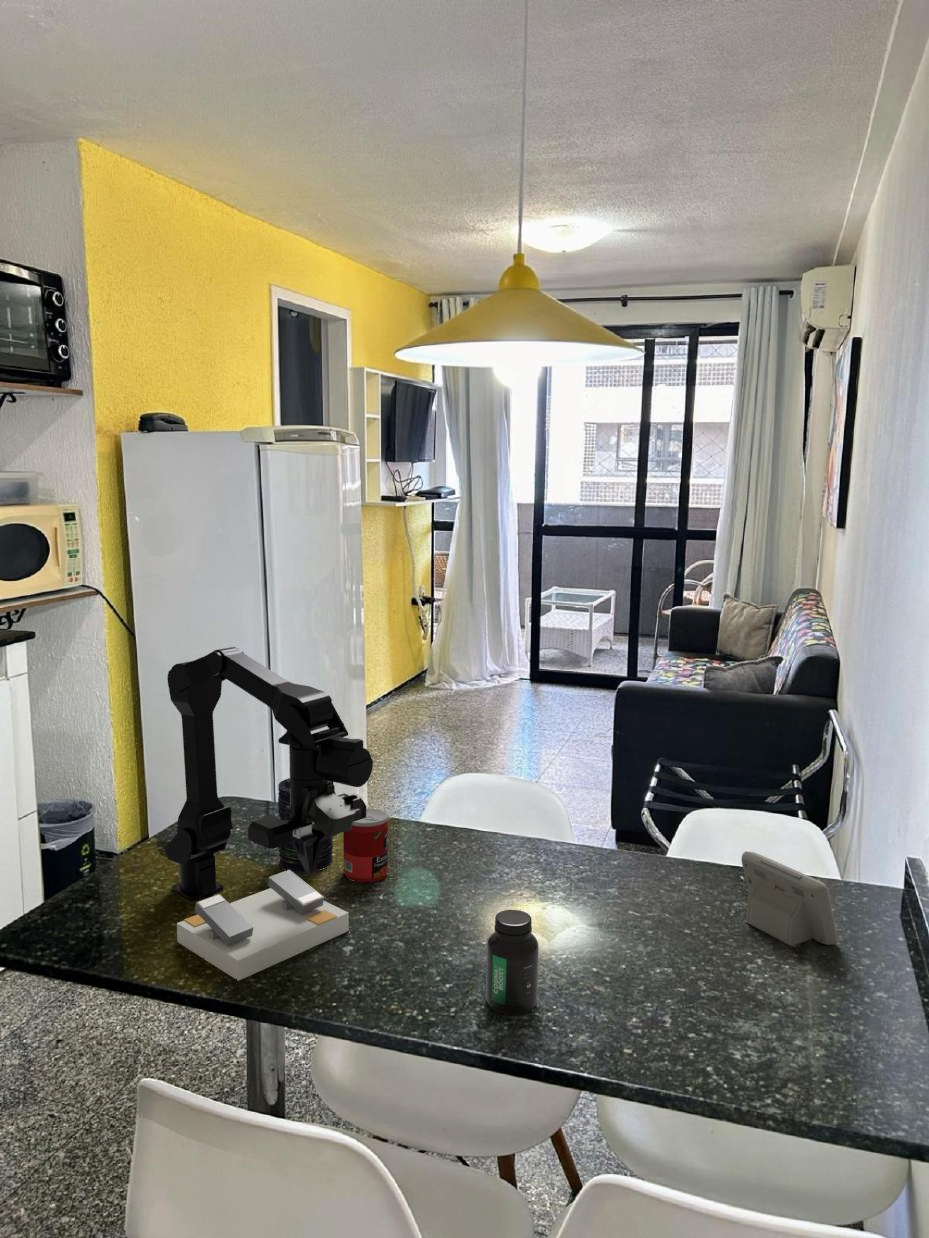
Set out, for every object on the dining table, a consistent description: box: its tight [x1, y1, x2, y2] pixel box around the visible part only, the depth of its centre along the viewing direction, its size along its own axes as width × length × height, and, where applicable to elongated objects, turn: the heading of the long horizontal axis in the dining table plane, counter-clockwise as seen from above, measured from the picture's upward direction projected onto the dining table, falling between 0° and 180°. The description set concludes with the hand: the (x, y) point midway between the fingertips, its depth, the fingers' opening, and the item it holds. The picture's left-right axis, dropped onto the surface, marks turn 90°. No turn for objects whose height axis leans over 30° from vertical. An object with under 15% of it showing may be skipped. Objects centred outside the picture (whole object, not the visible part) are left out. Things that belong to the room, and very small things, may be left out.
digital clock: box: [741, 850, 838, 947], centre depth 141 cm, size 16×9×11 cm, turn 19°
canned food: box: [342, 807, 389, 884], centre depth 159 cm, size 8×8×11 cm
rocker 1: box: [194, 893, 253, 946], centre depth 131 cm, size 9×4×2 cm, turn 47°
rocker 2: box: [267, 870, 325, 914], centre depth 141 cm, size 9×4×2 cm, turn 47°
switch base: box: [176, 887, 350, 981], centre depth 137 cm, size 16×20×4 cm
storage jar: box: [277, 777, 334, 874], centre depth 164 cm, size 10×10×15 cm
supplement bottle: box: [485, 909, 540, 1016], centre depth 119 cm, size 7×7×12 cm
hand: (310, 873), depth 138 cm, fingers closed
